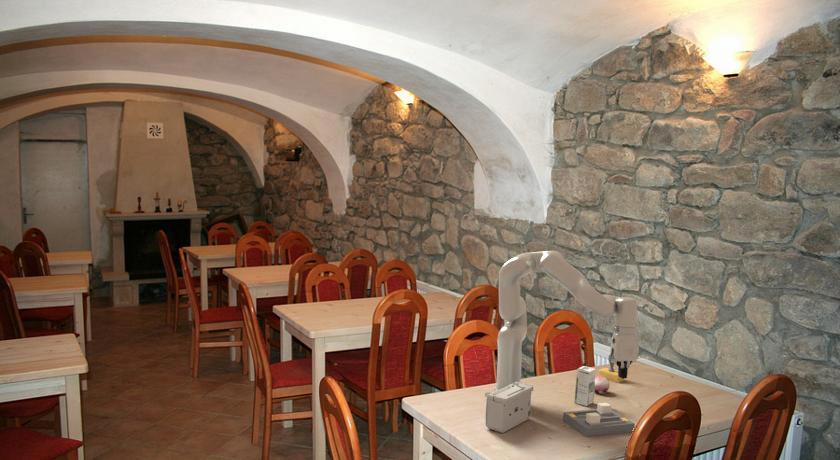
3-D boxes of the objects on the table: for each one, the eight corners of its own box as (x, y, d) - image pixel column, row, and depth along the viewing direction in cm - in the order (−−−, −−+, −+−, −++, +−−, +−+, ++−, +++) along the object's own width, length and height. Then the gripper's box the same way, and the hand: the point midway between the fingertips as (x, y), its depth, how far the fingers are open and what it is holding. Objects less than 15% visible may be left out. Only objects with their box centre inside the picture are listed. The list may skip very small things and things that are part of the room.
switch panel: (586, 436, 233) (586, 426, 232) (563, 419, 248) (563, 410, 247) (634, 431, 239) (634, 421, 239) (608, 415, 254) (609, 406, 254)
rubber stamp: (598, 377, 301) (599, 352, 300) (604, 375, 305) (606, 349, 304) (617, 383, 294) (619, 357, 293) (624, 380, 298) (626, 354, 297)
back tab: (601, 414, 246) (602, 406, 246) (597, 411, 249) (597, 403, 249) (610, 413, 248) (611, 405, 247) (606, 410, 251) (606, 402, 250)
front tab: (590, 424, 236) (590, 416, 235) (585, 421, 239) (586, 413, 238) (599, 423, 237) (600, 415, 237) (595, 420, 240) (595, 412, 240)
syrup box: (580, 399, 271) (582, 365, 269) (593, 403, 267) (596, 368, 266) (574, 403, 266) (576, 368, 265) (587, 406, 263) (590, 371, 261)
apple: (607, 390, 284) (608, 374, 283) (611, 396, 276) (612, 379, 276) (588, 388, 285) (589, 372, 284) (591, 394, 277) (592, 378, 276)
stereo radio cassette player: (514, 413, 253) (516, 363, 251) (533, 419, 247) (535, 367, 245) (483, 429, 236) (486, 375, 234) (503, 435, 231) (506, 380, 229)
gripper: (614, 333, 242) (611, 382, 243) (648, 331, 246) (645, 379, 248) (602, 328, 249) (599, 375, 251) (635, 326, 254) (633, 373, 255)
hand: (622, 377), depth 249 cm, fingers closed
